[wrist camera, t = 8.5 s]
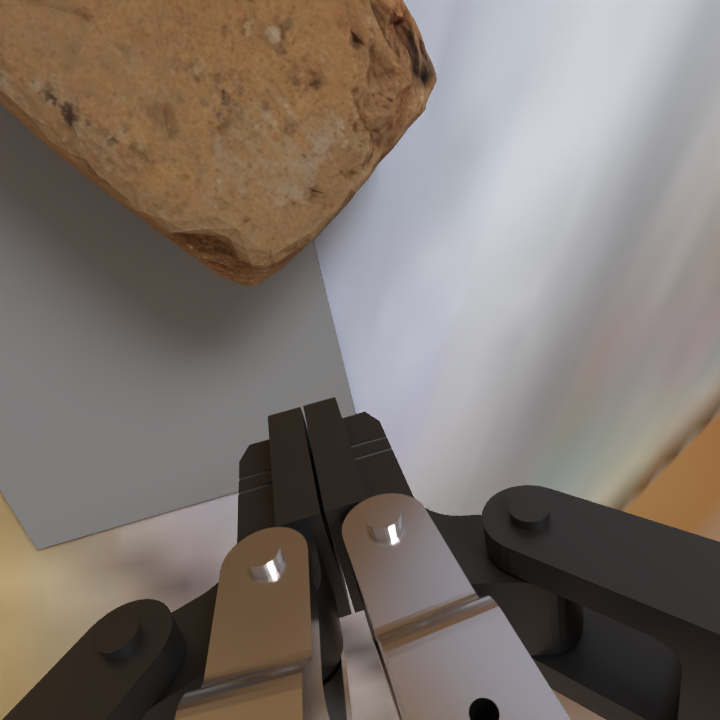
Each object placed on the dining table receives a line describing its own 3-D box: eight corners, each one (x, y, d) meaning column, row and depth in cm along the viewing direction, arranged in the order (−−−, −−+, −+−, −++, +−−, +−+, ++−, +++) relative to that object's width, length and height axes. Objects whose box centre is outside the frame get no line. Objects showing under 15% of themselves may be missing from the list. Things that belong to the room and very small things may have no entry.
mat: (250, -11, 21) (250, -14, 20) (363, 448, 30) (365, 453, 30) (-244, 91, 19) (-256, 90, 19) (40, 542, 28) (37, 549, 28)
